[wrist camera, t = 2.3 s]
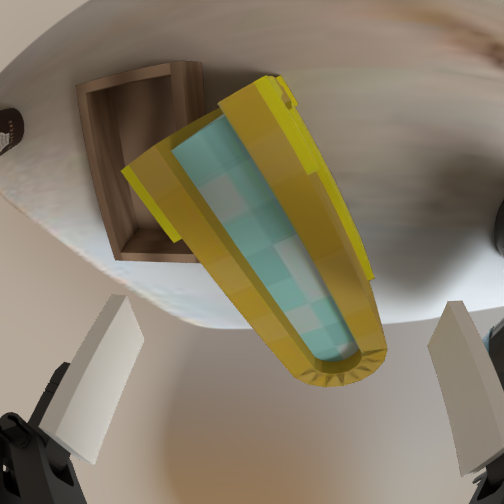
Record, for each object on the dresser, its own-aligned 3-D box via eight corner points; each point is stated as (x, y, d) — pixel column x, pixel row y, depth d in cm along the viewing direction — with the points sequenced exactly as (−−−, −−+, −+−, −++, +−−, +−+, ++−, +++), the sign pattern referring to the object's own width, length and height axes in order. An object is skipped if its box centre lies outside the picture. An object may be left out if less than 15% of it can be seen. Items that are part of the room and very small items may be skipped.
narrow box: (201, 62, 30) (181, 60, 24) (217, 233, 42) (205, 263, 36) (108, 79, 31) (76, 85, 25) (136, 233, 43) (115, 260, 37)
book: (229, 103, 32) (120, 170, 11) (280, 75, 30) (265, 75, 9) (299, 219, 39) (302, 396, 19) (346, 198, 37) (402, 366, 16)
